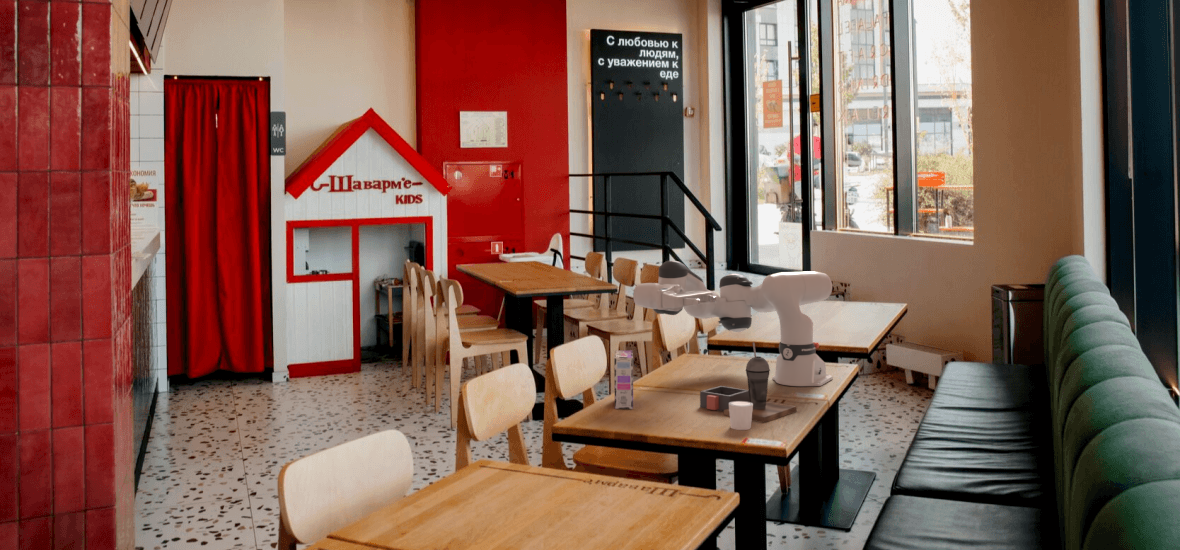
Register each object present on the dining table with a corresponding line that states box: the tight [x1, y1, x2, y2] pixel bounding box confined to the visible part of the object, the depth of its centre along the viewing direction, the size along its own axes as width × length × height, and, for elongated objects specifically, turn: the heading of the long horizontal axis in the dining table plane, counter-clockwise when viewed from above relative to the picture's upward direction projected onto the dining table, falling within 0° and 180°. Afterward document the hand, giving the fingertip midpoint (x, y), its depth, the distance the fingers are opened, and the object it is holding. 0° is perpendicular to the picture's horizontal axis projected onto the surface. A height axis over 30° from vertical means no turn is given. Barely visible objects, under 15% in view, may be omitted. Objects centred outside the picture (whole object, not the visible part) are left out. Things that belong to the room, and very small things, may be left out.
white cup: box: [729, 401, 753, 431], centre depth 257 cm, size 7×7×7 cm
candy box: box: [613, 350, 634, 410], centre depth 287 cm, size 14×6×16 cm, turn 176°
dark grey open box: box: [699, 385, 750, 412], centre depth 282 cm, size 13×11×5 cm
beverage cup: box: [745, 341, 771, 409], centre depth 274 cm, size 7×7×20 cm
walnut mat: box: [723, 400, 798, 423], centre depth 274 cm, size 18×14×2 cm
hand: (707, 300), depth 292 cm, fingers open, 8 cm apart
